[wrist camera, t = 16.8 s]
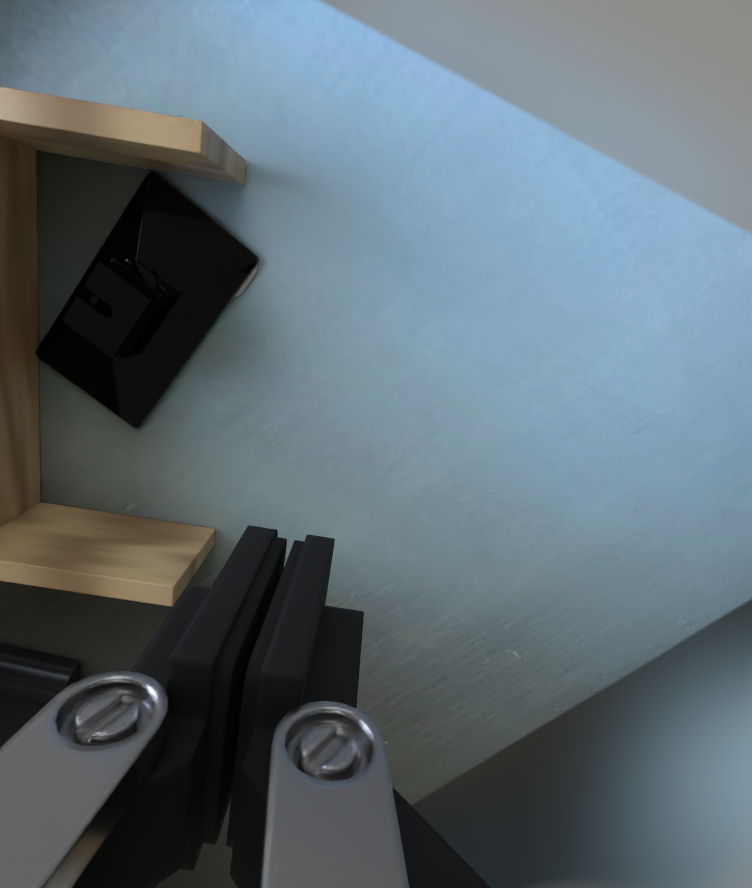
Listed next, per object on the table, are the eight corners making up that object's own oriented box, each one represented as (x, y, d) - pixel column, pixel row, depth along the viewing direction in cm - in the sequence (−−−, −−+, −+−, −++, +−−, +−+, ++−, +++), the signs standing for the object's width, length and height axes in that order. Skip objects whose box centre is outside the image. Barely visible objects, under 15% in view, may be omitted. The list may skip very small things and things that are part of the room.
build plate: (154, 170, 29) (111, 147, 24) (265, 262, 30) (244, 256, 26) (37, 353, 32) (-21, 363, 27) (143, 431, 33) (105, 453, 28)
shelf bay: (246, 160, 29) (202, 120, 22) (214, 545, 35) (172, 607, 28) (13, 121, 28) (-105, 68, 22) (22, 516, 34) (-68, 571, 28)
